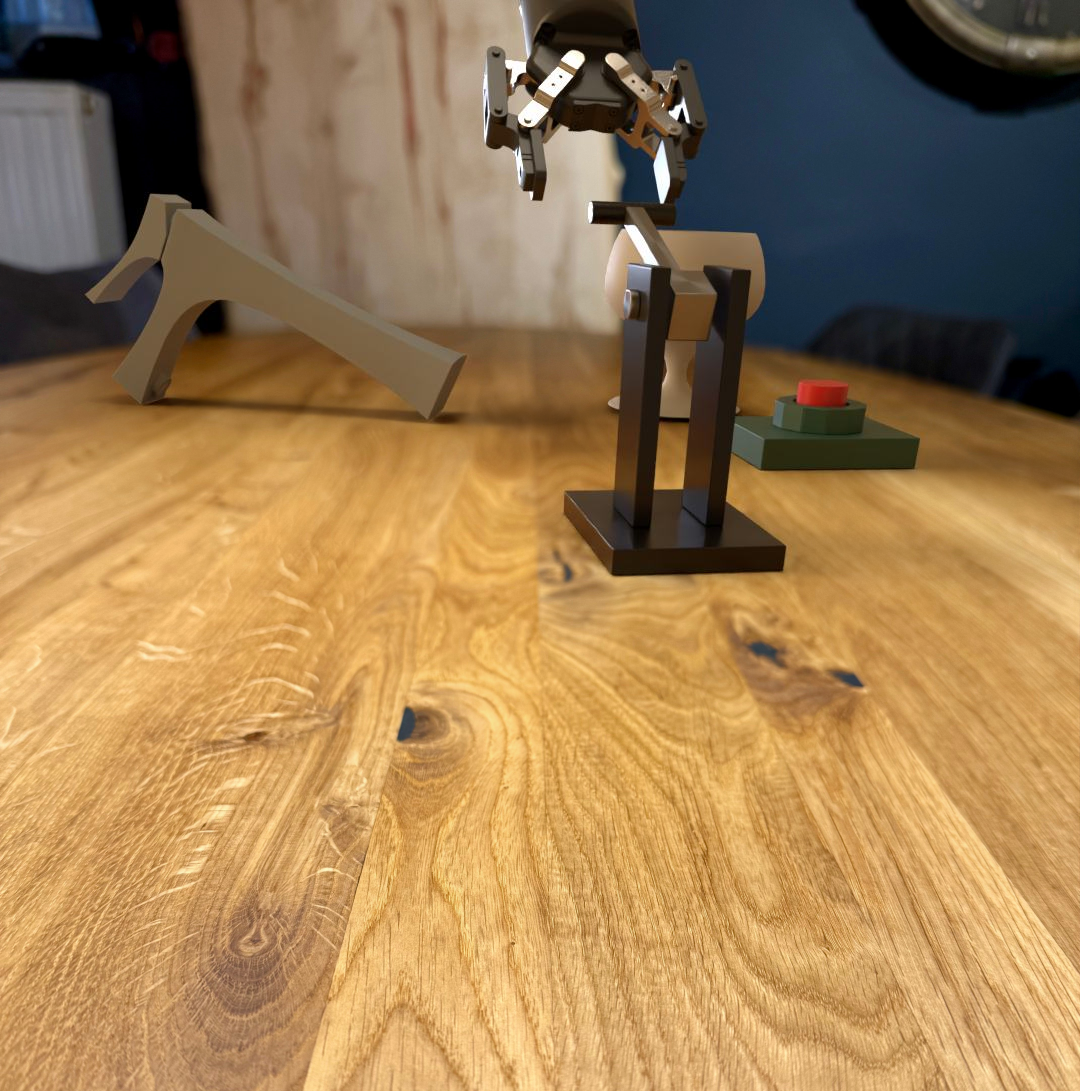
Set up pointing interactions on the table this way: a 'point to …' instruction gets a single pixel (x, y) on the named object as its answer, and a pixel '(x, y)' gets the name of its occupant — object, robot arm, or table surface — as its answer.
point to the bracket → (700, 507)
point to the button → (822, 393)
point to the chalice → (690, 256)
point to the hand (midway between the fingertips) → (606, 193)
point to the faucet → (262, 283)
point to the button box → (821, 439)
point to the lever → (664, 265)
